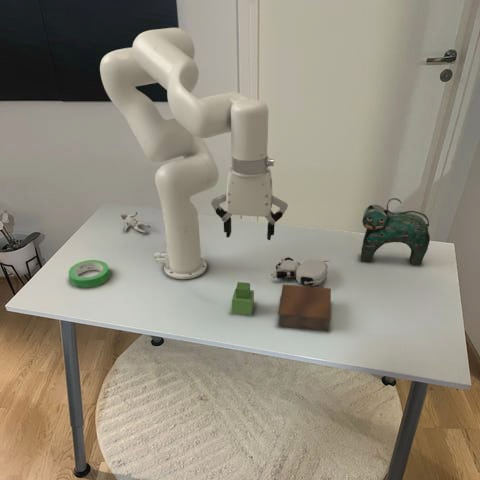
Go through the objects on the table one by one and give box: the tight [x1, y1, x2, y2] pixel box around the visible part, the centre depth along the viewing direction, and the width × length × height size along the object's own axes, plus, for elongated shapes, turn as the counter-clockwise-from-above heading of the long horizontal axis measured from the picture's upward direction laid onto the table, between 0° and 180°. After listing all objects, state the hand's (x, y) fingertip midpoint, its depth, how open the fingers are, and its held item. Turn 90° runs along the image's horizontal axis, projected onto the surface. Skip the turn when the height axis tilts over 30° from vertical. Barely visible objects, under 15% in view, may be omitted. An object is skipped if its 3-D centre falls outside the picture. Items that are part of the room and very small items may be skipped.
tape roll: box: [68, 259, 111, 289], centre depth 133 cm, size 11×11×3 cm
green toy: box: [231, 281, 255, 316], centre depth 119 cm, size 5×5×7 cm
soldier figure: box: [120, 211, 151, 235], centre depth 156 cm, size 8×5×12 cm
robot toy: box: [270, 256, 331, 287], centre depth 132 cm, size 12×4×15 cm
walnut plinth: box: [277, 284, 332, 332], centre depth 118 cm, size 13×13×4 cm
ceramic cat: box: [360, 197, 431, 266], centre depth 134 cm, size 20×6×20 cm, turn 80°
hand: (249, 236), depth 109 cm, fingers open, 9 cm apart
